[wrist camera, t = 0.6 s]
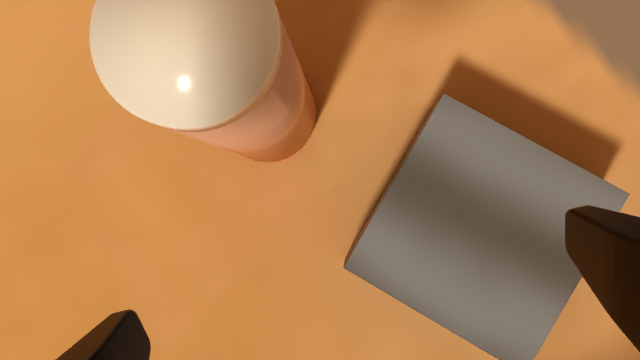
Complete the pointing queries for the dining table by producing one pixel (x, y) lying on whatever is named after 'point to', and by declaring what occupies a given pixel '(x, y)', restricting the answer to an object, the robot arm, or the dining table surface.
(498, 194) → the riser block
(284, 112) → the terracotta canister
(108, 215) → the dining table surface
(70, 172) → the dining table surface
